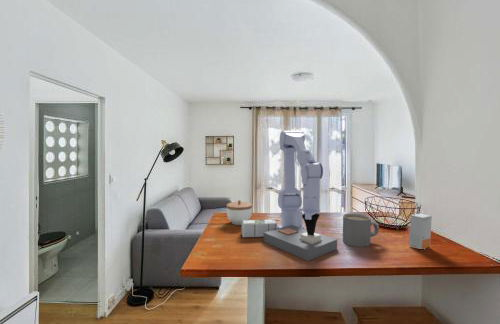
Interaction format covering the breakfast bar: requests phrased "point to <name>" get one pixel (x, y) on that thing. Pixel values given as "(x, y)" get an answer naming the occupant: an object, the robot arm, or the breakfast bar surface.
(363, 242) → the coffee mug
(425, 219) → the skincare box
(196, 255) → the breakfast bar surface
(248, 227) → the syrup box
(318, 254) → the key board
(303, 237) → the cream key
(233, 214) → the lidded bowl
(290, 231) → the terracotta key
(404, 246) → the breakfast bar surface
